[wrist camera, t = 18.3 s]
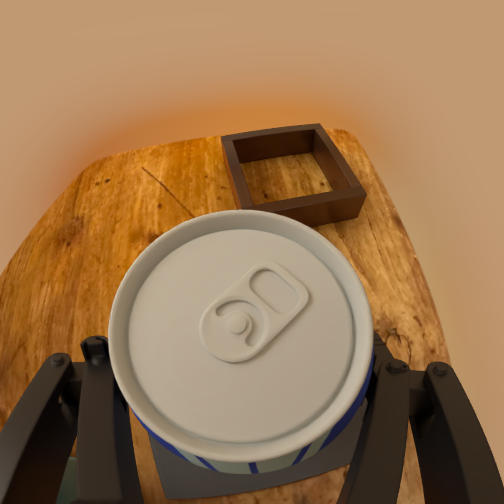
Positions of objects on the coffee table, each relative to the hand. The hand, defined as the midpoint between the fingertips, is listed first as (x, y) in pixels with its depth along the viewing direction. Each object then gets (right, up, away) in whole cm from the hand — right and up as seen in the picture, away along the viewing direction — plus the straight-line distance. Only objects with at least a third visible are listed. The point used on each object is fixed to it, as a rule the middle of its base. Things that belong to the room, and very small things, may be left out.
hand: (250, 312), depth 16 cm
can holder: (+4, +11, +17) cm, 21 cm away
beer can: (0, -6, +4) cm, 8 cm away
